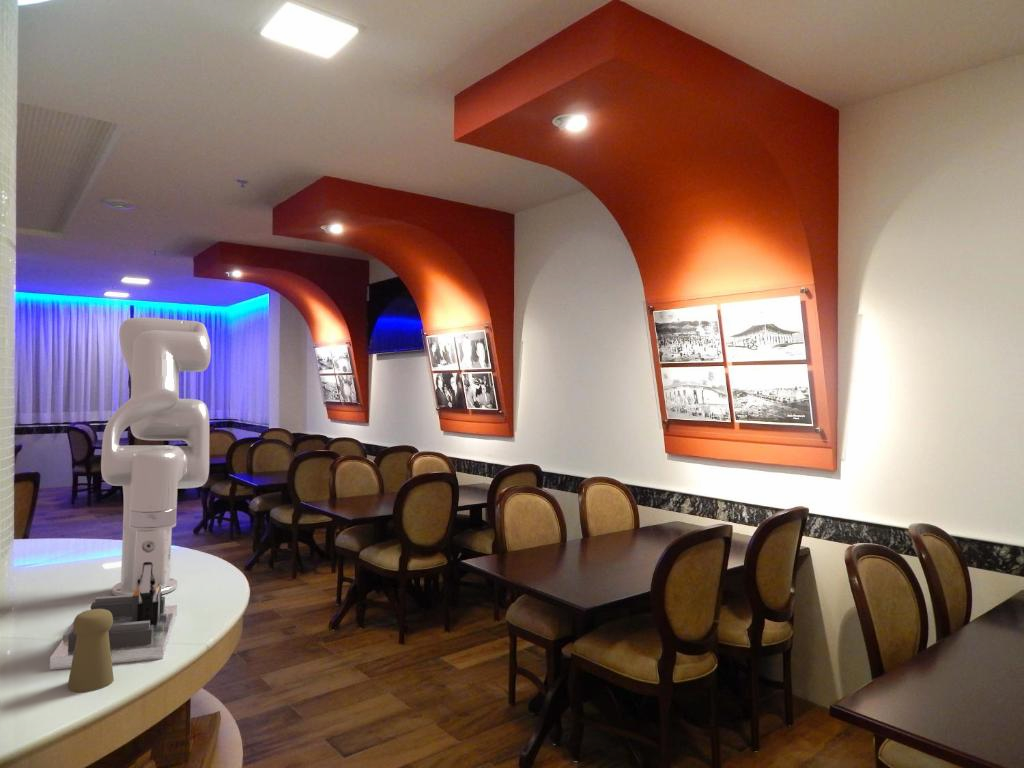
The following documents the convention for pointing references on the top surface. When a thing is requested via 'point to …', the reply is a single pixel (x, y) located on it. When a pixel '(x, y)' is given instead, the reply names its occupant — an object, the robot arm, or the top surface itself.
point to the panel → (125, 653)
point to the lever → (136, 600)
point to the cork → (91, 652)
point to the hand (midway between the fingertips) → (149, 618)
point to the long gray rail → (121, 631)
